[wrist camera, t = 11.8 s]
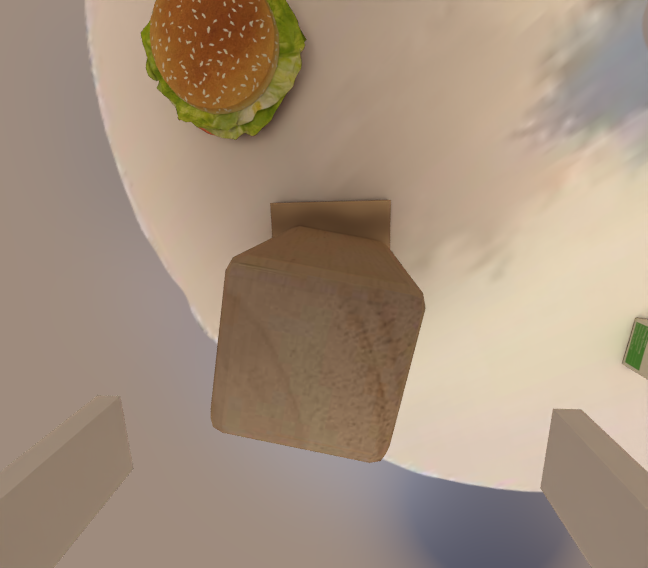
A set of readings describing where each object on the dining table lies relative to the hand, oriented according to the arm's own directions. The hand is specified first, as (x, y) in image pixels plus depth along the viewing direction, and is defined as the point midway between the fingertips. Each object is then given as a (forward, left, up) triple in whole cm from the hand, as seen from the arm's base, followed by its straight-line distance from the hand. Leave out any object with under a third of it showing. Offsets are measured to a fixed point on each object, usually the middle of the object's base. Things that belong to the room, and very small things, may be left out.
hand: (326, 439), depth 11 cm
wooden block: (+1, -1, -27) cm, 27 cm away
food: (-20, -10, -29) cm, 37 cm away
